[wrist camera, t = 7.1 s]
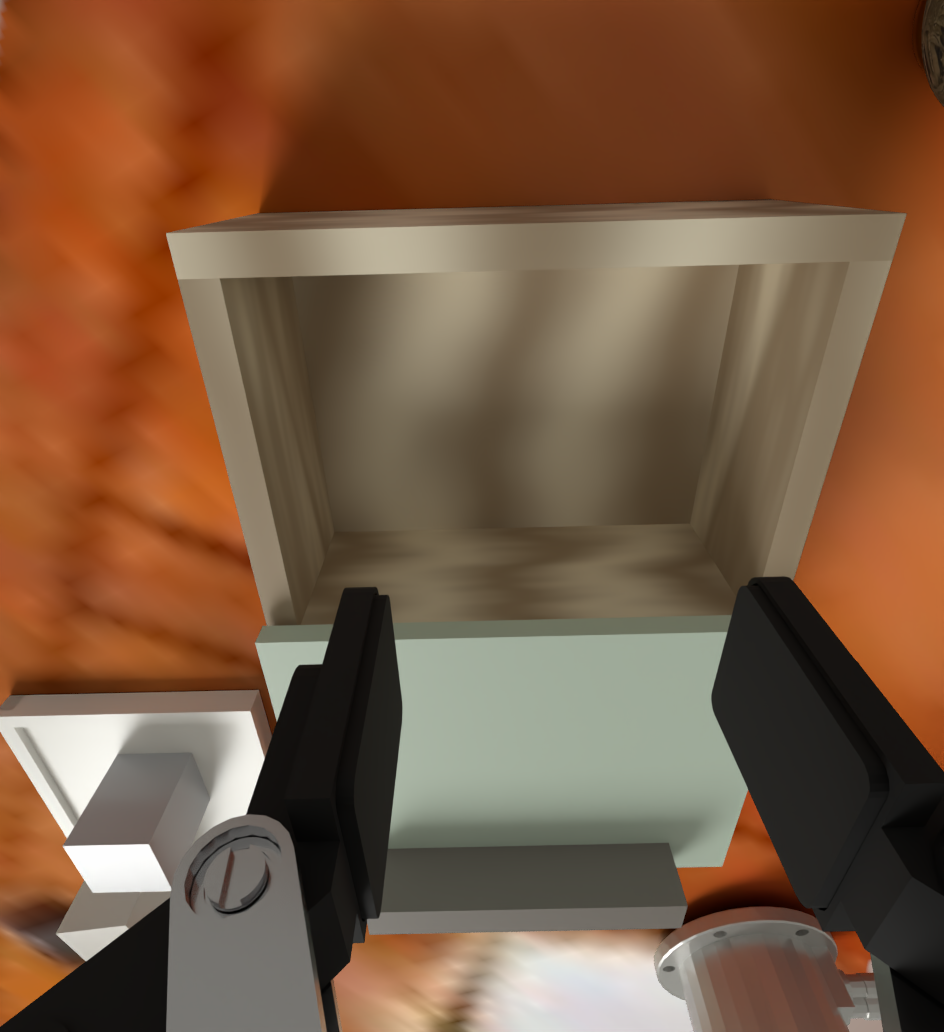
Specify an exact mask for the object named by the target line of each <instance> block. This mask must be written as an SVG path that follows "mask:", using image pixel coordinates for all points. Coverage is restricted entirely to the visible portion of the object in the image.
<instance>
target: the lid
mask: <svg viewBox="0 0 944 1032" xmlns="http://www.w3.org/2000/svg"><path fill="white" fill-rule="evenodd" d="M731 616H732V615H712V616H669V617H626V618H583V619H540V620H497V621H454V622H411V623H393V629H394V637H395V645H396V654H397V662H398V670H399V679H400V687H401V695H402V708H403V709H402V727H401V736H400V745H399V754H398V763H397V771H396V780H395V789H394V798H393V807H392V816H391V825H390V834H389V843H388V852H387V861H386V870H385V879H384V888H383V897H382V906H381V912H380V916H379V918H378V919H367V924H368V929H369V934H370V935H373V934H422V933H471V932H520V931H569V930H618V929H667V928H681V927H682V924H683V920H684V917H685V914H686V910H687V907H688V905H687V902H686V899H685V895H684V892H683V889H682V885H681V882H680V879H679V875H678V872H677V869H676V867H722V865H723V862H724V859H725V856H726V853H727V850H728V847H729V844H730V841H731V838H732V835H733V832H734V829H735V826H736V823H737V821H738V818H739V815H740V812H741V809H742V806H743V803H744V800H745V797H746V794H747V791H748V788H747V786H746V783H745V781H744V779H743V777H742V774H741V772H740V770H739V768H738V766H737V763H736V761H735V759H734V757H733V755H732V752H731V750H730V748H729V746H728V743H727V741H726V739H725V737H724V735H723V732H722V730H721V728H720V726H719V724H718V721H717V719H716V717H715V715H714V712H713V708H712V702H711V694H712V689H713V686H714V682H715V678H716V674H717V670H718V666H719V662H720V659H721V655H722V651H723V647H724V643H725V639H726V635H727V632H728V628H729V624H730V620H731ZM332 628H333V624H325V625H282V626H263V627H262V629H261V631H260V633H259V636H258V638H257V640H256V642H255V644H256V648H257V651H258V655H259V659H260V662H261V666H262V670H263V673H264V677H265V680H266V684H267V688H268V691H269V695H270V699H271V702H272V706H273V709H274V713H275V717H276V720H278V717H279V714H280V711H281V708H282V705H283V702H284V699H285V696H286V693H287V690H288V687H289V684H290V681H291V678H292V676H293V673H294V671H295V669H296V668H297V666H298V665H310V664H322V663H323V660H324V656H325V652H326V649H327V645H328V642H329V638H330V635H331V631H332Z"/></svg>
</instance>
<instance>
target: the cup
mask: <svg viewBox="0 0 944 1032" xmlns="http://www.w3.org/2000/svg"><path fill="white" fill-rule="evenodd" d="M912 44H913V50H914V55H915V57H916V60H917V62H918V64H919V66H920V67H921V69H922V70H923V71H924V73H925V74H926V76H927V79H928V82H929V85H930V87H931V89H932V91H933V93H934V94H935V96H936V98H937V99H938V100H939V102H940V103H941V104H942V105H943V107H944V0H920V1H919V4H918V7H917V10H916V13H915V17H914V22H913V30H912Z"/></svg>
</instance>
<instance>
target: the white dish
mask: <svg viewBox="0 0 944 1032" xmlns="http://www.w3.org/2000/svg"><path fill="white" fill-rule="evenodd" d="M0 732H1V733H2V735H3V737H4V738H5V740H6V741H7V743H8V745H9V746H10V748H11V749H12V751H13V753H14V754H15V756H16V757H17V759H18V761H19V762H20V764H21V765H22V767H23V769H24V770H25V772H26V773H27V775H28V777H29V778H30V780H31V781H32V783H33V785H34V786H35V788H36V789H37V791H38V793H39V794H40V796H41V797H42V799H43V801H44V802H45V804H46V805H47V807H48V809H49V810H50V812H51V813H52V815H53V817H54V818H55V820H56V821H57V823H58V824H59V826H60V828H61V829H62V831H63V832H64V834H65V836H66V837H67V838H68V836H69V835H70V833H71V831H72V830H73V828H74V826H75V825H76V823H77V821H78V820H79V818H80V816H81V815H82V813H83V811H84V810H85V808H86V806H87V805H88V803H89V801H90V799H91V798H92V796H93V794H94V793H95V791H96V789H97V788H98V786H99V784H100V783H101V781H102V779H103V778H104V776H105V774H106V773H107V771H108V769H109V768H110V766H111V764H112V763H113V761H114V759H115V758H116V756H117V754H146V753H191V752H192V754H193V756H194V759H195V761H196V764H197V766H198V769H199V771H200V774H201V776H202V779H203V782H204V784H205V787H206V789H207V792H208V794H209V797H210V801H209V804H208V806H207V809H206V811H205V813H204V816H203V818H202V821H201V823H200V826H199V828H198V831H197V833H196V836H195V838H194V841H193V843H192V845H193V844H194V843H195V841H196V840H197V839H198V838H200V837H201V836H202V835H204V834H205V833H206V832H207V831H209V830H210V829H211V828H212V827H214V826H216V825H218V824H220V823H222V822H224V821H226V820H228V819H230V818H234V817H239V816H243V815H246V813H247V810H248V807H249V804H250V801H251V798H252V795H253V792H254V789H255V786H256V783H257V780H258V777H259V774H260V771H261V768H262V765H263V762H264V759H265V756H266V753H267V750H268V747H269V744H270V741H271V738H272V734H271V731H270V727H269V724H268V720H267V717H266V713H265V710H264V706H263V703H262V699H261V696H260V692H259V690H232V691H188V692H144V693H100V694H56V695H12V696H9V697H8V698H7V699H6V700H5V702H4V703H3V704H2V705H1V706H0ZM192 845H191V846H192Z"/></svg>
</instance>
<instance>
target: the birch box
mask: <svg viewBox="0 0 944 1032" xmlns="http://www.w3.org/2000/svg"><path fill="white" fill-rule="evenodd" d="M906 214H907V213H899V212H889V211H879V210H870V209H860V208H850V207H841V206H831V205H821V204H811V203H802V202H792V201H782V200H772V199H768V200H731V201H694V202H657V203H620V204H583V205H546V206H509V207H473V208H436V209H399V210H362V211H325V212H288V213H257V214H253V215H248V216H243V217H239V218H234V219H230V220H225V221H220V222H216V223H211V224H206V225H202V226H197V227H193V228H188V229H183V230H179V231H174V232H170V233H166V236H167V240H168V243H169V247H170V251H171V255H172V259H173V263H174V267H175V271H176V275H177V278H178V282H179V286H180V290H181V294H182V298H183V302H184V306H185V309H186V313H187V317H188V321H189V325H190V329H191V333H192V337H193V341H194V344H195V348H196V352H197V356H198V360H199V364H200V368H201V372H202V375H203V379H204V383H205V387H206V391H207V395H208V399H209V403H210V406H211V410H212V414H213V418H214V422H215V426H216V430H217V434H218V438H219V441H220V445H221V449H222V453H223V457H224V461H225V465H226V469H227V472H228V476H229V480H230V484H231V488H232V492H233V496H234V500H235V504H236V507H237V511H238V515H239V519H240V523H241V527H242V531H243V535H244V538H245V542H246V546H247V550H248V554H249V558H250V562H251V566H252V569H253V573H254V577H255V581H256V585H257V589H258V593H259V597H260V601H261V604H262V608H263V612H264V616H265V620H266V624H267V626H282V625H325V624H334V621H335V617H336V614H337V610H338V607H339V603H340V599H341V596H342V593H343V590H344V589H345V588H349V587H377V589H378V592H379V595H389V597H390V604H391V612H392V620H393V623H411V622H454V621H497V620H540V619H583V618H626V617H669V616H712V615H732V612H733V608H734V605H735V601H736V597H737V593H738V590H739V588H740V587H741V586H747V585H748V582H749V581H750V580H751V578H754V577H778V576H786V577H789V578H791V579H792V580H794V577H795V573H796V570H797V567H798V564H799V560H800V557H801V554H802V551H803V548H804V544H805V541H806V538H807V535H808V531H809V528H810V525H811V522H812V518H813V515H814V512H815V509H816V505H817V502H818V499H819V496H820V493H821V489H822V486H823V483H824V480H825V476H826V473H827V470H828V467H829V463H830V460H831V457H832V454H833V450H834V447H835V444H836V441H837V438H838V434H839V431H840V428H841V425H842V421H843V418H844V415H845V412H846V408H847V405H848V402H849V399H850V396H851V392H852V389H853V386H854V383H855V379H856V376H857V373H858V370H859V366H860V363H861V360H862V357H863V353H864V350H865V347H866V344H867V341H868V337H869V334H870V331H871V328H872V324H873V321H874V318H875V315H876V311H877V308H878V305H879V302H880V299H881V295H882V292H883V289H884V286H885V282H886V279H887V276H888V273H889V269H890V266H891V263H892V260H893V256H894V253H895V250H896V247H897V244H898V240H899V237H900V234H901V231H902V227H903V224H904V221H905V218H906Z"/></svg>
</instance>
